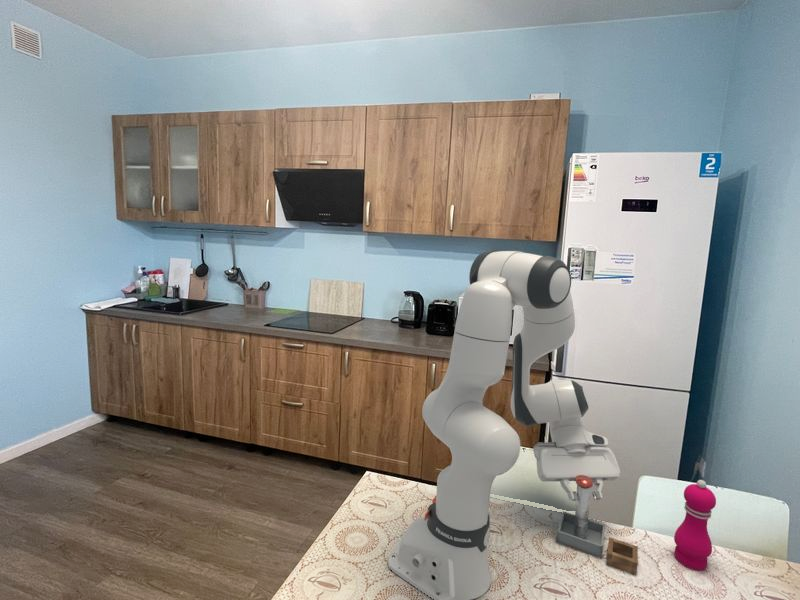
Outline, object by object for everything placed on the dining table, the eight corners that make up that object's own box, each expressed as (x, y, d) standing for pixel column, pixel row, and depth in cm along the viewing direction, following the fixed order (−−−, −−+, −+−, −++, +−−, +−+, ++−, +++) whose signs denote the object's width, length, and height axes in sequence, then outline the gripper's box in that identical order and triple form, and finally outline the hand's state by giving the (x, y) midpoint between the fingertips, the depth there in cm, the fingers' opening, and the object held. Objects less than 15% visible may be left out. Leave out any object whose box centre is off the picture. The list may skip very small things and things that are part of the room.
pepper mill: (715, 575, 94) (729, 492, 91) (679, 569, 96) (691, 487, 93) (699, 552, 101) (711, 474, 98) (666, 546, 103) (677, 469, 100)
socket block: (606, 564, 96) (607, 552, 96) (607, 548, 101) (608, 537, 101) (636, 575, 93) (637, 563, 93) (636, 558, 99) (637, 546, 98)
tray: (556, 542, 103) (557, 531, 102) (561, 521, 111) (562, 511, 110) (601, 558, 98) (603, 547, 98) (604, 535, 106) (605, 524, 105)
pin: (571, 538, 103) (574, 481, 101) (573, 528, 107) (576, 473, 104) (588, 543, 102) (592, 485, 99) (589, 533, 105) (593, 477, 103)
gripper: (536, 438, 107) (549, 497, 99) (613, 438, 109) (632, 496, 100) (527, 446, 112) (539, 503, 104) (601, 445, 114) (619, 502, 106)
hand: (586, 500), depth 102 cm, fingers open, 5 cm apart
